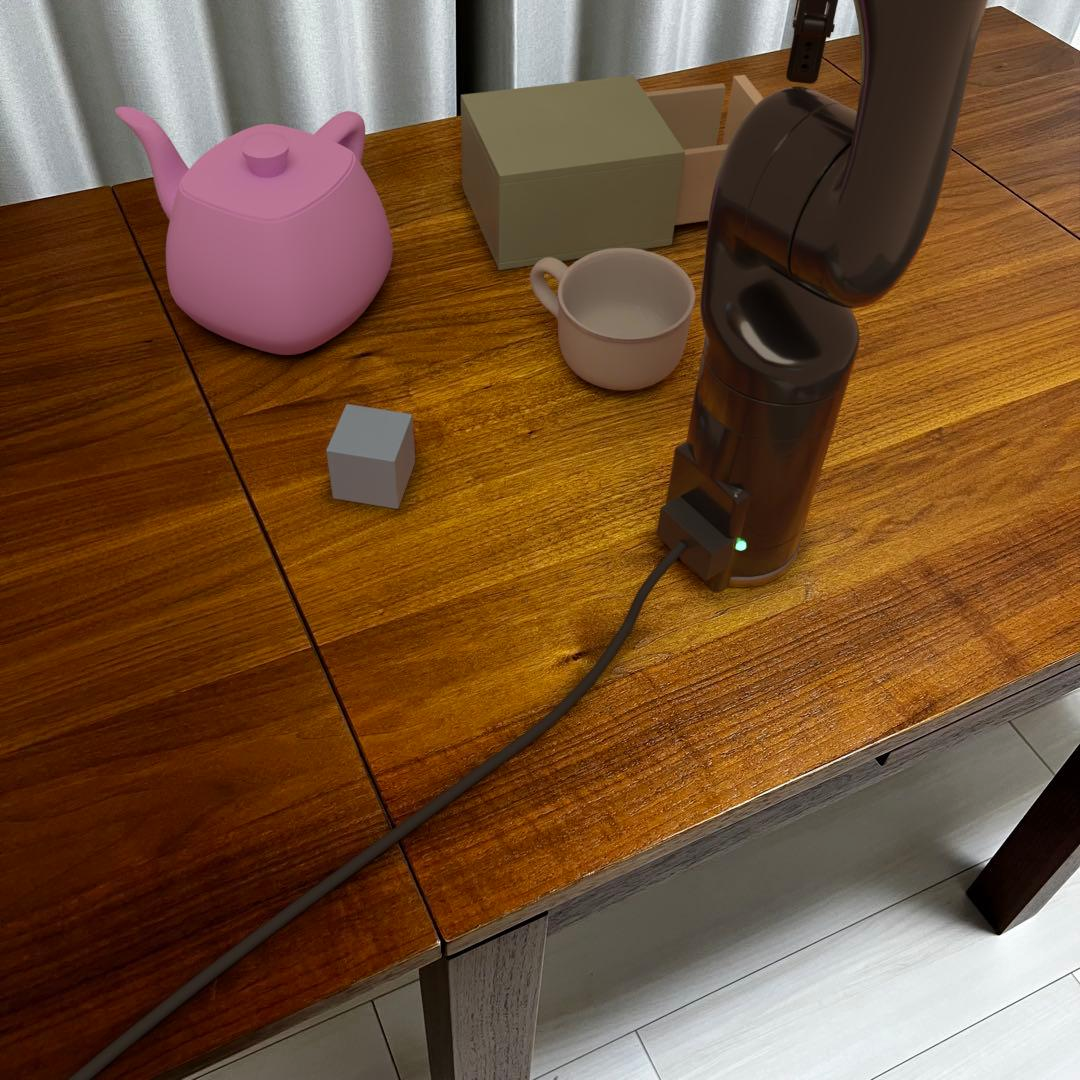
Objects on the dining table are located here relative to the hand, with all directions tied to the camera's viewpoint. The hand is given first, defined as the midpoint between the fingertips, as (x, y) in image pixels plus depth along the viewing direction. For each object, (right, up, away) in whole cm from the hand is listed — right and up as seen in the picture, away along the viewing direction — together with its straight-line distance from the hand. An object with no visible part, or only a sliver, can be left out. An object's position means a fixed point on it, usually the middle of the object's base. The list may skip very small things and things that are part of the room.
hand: (804, 51), depth 87 cm
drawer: (-4, -2, +28) cm, 28 cm away
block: (-32, -31, +2) cm, 45 cm away
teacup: (-14, -21, +12) cm, 28 cm away
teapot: (-42, -15, +16) cm, 47 cm away
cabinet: (-17, -5, +26) cm, 31 cm away
